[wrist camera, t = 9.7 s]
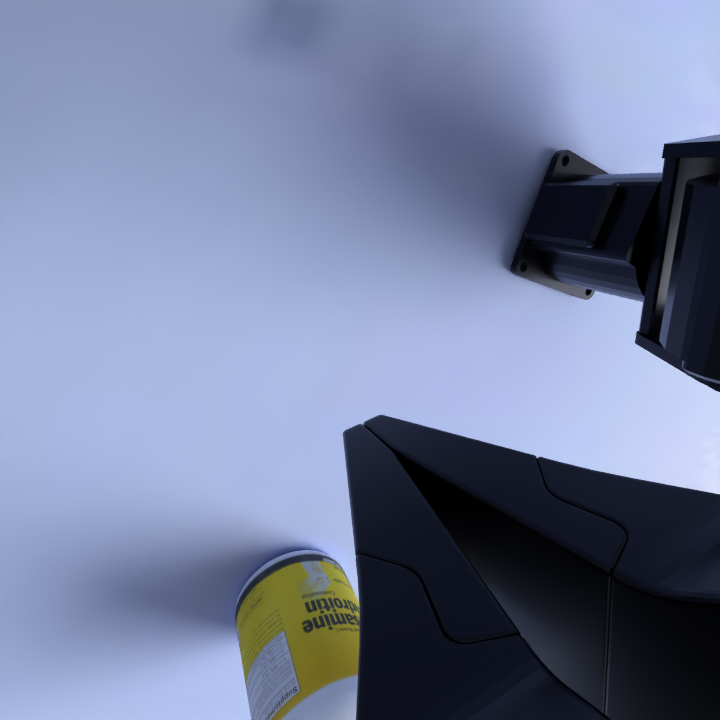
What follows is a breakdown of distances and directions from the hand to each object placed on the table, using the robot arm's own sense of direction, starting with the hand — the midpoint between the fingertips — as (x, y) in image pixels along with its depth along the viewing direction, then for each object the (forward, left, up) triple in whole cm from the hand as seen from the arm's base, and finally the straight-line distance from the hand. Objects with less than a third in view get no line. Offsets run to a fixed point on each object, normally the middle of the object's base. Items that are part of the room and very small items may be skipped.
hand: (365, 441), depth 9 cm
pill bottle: (-6, +16, -12) cm, 21 cm away
